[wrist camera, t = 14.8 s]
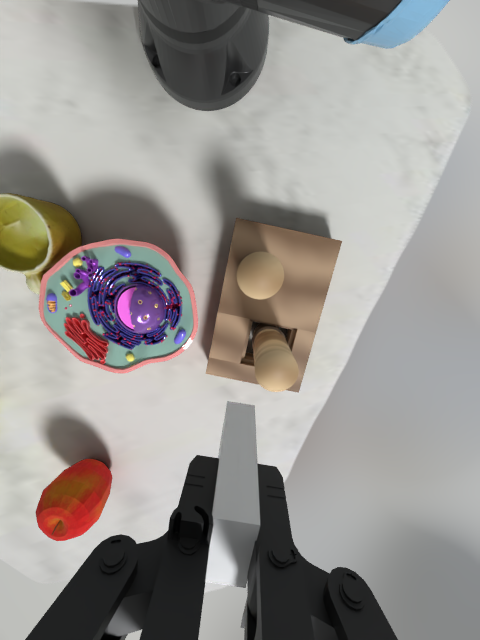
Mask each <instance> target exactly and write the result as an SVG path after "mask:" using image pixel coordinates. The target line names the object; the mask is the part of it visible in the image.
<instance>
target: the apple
mask: <svg viewBox="0 0 480 640" xmlns="http://www.w3.org/2000/svg"><path fill="white" fill-rule="evenodd" d="M111 483H112V475H111V471H110V470H109V469H108V468H107V466H106V465H105V464H104V463H102V462H100V461H98V460H95V459H84V460H81V461H79V462H77V463H76V464H74V465H72V466H71V467H69V468H67V469H66V470H64V471H63V472H62V473H61V474H60V475H59V476H58V477H57V478H56V479H55V480H54V481H53V482H52V483H51V484H50V485H48V486H47V487H46V488H45V489H44V490H43V492H42V495H41V498H40V501H39V503H38V506H37V509H36V517H37V523H38V526H39V528H40V529H41V530H42V531H43V533H45V534H46V535H47V536H48V537H49V538H51V539H53V540H56V541H65V540H68V539H72V538H75V537H77V536H80V535H82V534H83V533H85V532H86V531H87V530H88V529H89V528H90V527H91V526H92V525H93V524H94V523H95V522H96V521H97V520H98V519H99V517H100V515H101V513H102V510H103V508H104V506H105V503H106V501H107V499H108V496H109V494H110V489H111Z"/></svg>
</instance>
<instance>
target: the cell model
mask: <svg viewBox="0 0 480 640" xmlns="http://www.w3.org/2000/svg"><path fill="white" fill-rule="evenodd" d="M39 312H40V317H41V320H42V322H43V323H44V325H45V326H46V328H47V329H48V330H49V331H50V332H51V333H52V334H53V335H54V336H55V337H56V338H57V339H58V340H59V341H60V342H61V343H62V344H63V345H64V346H65V347H66V348H67V349H68V350H69V351H70V352H71V353H72V354H73V355H74V356H75V357H76V358H78V359H79V360H80V361H82V362H84V363H87V364H90V365H93V366H96V367H99V368H101V369H104V370H107V371H110V372H114V373H128V372H130V371H133V370H135V369H137V368H139V367H141V366H143V365H146V364H149V363H155V362H162V361H166V360H169V359H172V358H174V357H176V356H178V355H179V354H181V353H182V352H183V351H184V350H185V349H186V348H187V347H188V346H189V345H190V343H191V342H192V340H193V339H194V337H195V334H196V332H197V328H198V316H197V307H196V301H195V295H194V291H193V288H192V286H191V284H190V283H189V281H188V280H187V279H186V278H185V276H184V275H183V274H182V273H181V272H180V270H179V269H178V267H177V265H176V264H175V262H174V261H173V259H172V258H171V257H170V256H169V255H168V254H167V253H166V252H165V251H163V250H162V249H161V248H159V247H157V246H155V245H153V244H150V243H148V242H140V241H132V240H125V239H110V240H105V241H100V242H95V243H91V244H87V245H84V246H81V247H78V248H76V249H74V250H72V251H71V252H69V253H68V254H67V255H65V256H64V257H63V258H62V259H61V260H60V261H59V262H57V263H56V264H55V265H54V266H53V267H52V268H51V269H50V270H48V271H47V272H46V273H45V274H44V275H43V278H42V280H41V286H40V297H39Z"/></svg>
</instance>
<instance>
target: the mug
mask: <svg viewBox="0 0 480 640" xmlns="http://www.w3.org/2000/svg"><path fill="white" fill-rule="evenodd" d="M81 245H82V239H81V231H80V228H79V226H78V224H77V222H76V220H75V219H74V217H73V216H72V215H71V214H70V213H69V212H68V211H67V210H65V209H64V208H62V207H61V206H59V205H56V204H54V203H51V202H46V201H42V200H37V199H34V198H31V197H25V196H21V195H18V194H11V193H0V267H1V268H3V269H5V270H8V271H12V272H17V273H22V274H24V275H25V276H26V283H27V286H28V288H29V289H30V290H31V291H32V292H34V293H35V294H38V295H40V286H41V280H42V278H43V275H44V274H45V273H46V272H47V271H48V270H50V269H51V268H52V267H53V266H54V265H55V264H56V263H57V262H59V261H60V260H61V259H62V258H63V257H64V256H65V255H67V254H68V253H69V252H71V251H72V250H74V249H76V248H78V247H81Z"/></svg>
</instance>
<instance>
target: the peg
mask: <svg viewBox="0 0 480 640" xmlns="http://www.w3.org/2000/svg"><path fill="white" fill-rule="evenodd" d="M252 347H253V354H254V367H255V376H256V379H257V381H258V383H259V384H260V385H261V386H262V387H263V388H264V389H266V390H269V391H273V392H280V391H284V390H286V389H288V388H290V387H291V386H292V385H293V384H294V383H295V382H296V380H297V378H298V374H299V369H298V365H297V362H296V360H295V358H294V356H293V354H292V352H291V350H290V348H289V346H288V344H287V342H286V338H285V336H284V334H283V332H282V331H281V330H279V328H278V327H277V326H272V325H267V324H263V323H260V324H258V325H257V326H256V328H255V329H254V332H253V339H252Z"/></svg>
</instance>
